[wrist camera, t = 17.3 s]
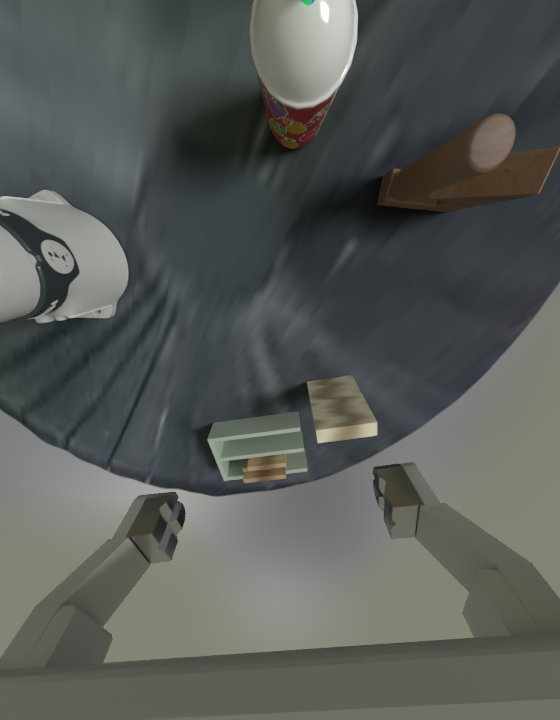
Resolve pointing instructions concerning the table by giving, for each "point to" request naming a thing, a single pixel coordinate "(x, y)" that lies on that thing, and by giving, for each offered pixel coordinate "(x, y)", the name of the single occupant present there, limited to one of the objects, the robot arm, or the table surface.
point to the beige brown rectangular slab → (340, 410)
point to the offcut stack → (264, 468)
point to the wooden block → (469, 171)
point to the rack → (257, 442)
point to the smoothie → (301, 61)
